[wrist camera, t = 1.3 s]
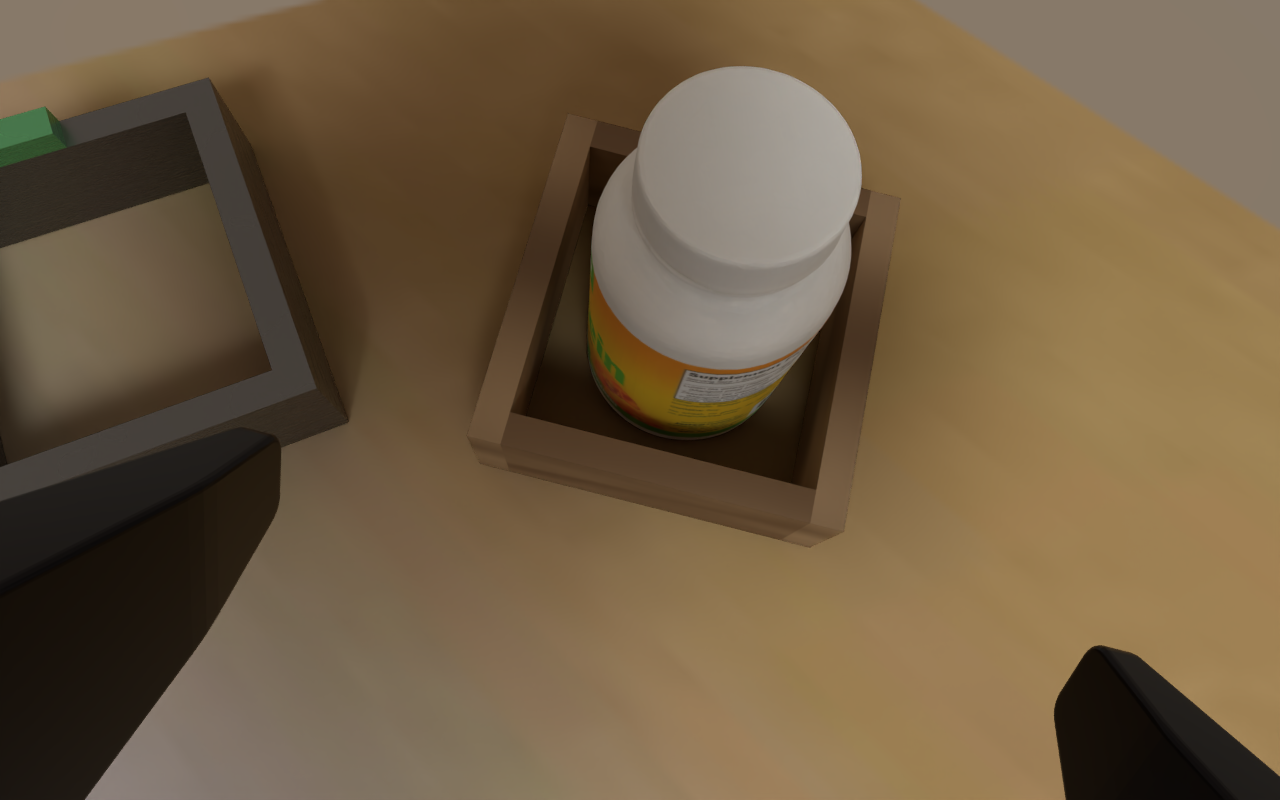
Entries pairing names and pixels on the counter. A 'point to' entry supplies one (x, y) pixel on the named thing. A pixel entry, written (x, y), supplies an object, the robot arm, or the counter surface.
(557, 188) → the holder sleeve
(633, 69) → the counter surface
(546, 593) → the counter surface
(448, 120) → the counter surface
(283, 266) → the dock collar
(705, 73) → the supplement bottle
